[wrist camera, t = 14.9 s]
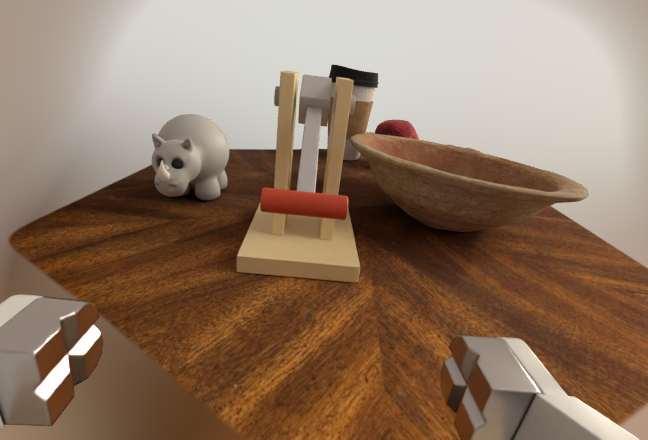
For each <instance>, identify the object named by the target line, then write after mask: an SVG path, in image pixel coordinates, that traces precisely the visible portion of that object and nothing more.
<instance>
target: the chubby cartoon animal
mask: <svg viewBox="0 0 648 440" xmlns="http://www.w3.org/2000/svg"><path fill="white" fill-rule="evenodd" d="M152 138H153V142H154V146H155V151H154V153H153V156H152V166H153V168H154V170H155V172H156V177H155V186H156V188H157V190H158V191H159V192H160V193H161V194H163V195H165V196H168V197H177V196H184V195H187V194H188V193H189V191H190V185H192V184H194V185H193V188H194V189H195V194H196V196H197V198H199V199H201V200H213V199H216V198H218V197H219V196H220V190H222V189H224V188H226V186H227V176H226V173H225V170H224V168H225V167H226V165H227V162H228V158H229V146H228V141H227V138H226V137H225V134H224V133H223V131H222V130H221V129H220V127H219V126H217V124H215V123H214V122H213V121H211V120H210V119H208V118H206V117H203V116H200V115H194V114H186V115H180V116H177V117H175V118H173V119H171V120H170V121H168V122H167V123H166V124H165V125H164V126H163V127H162V129H161V130H160V132H159V134H158V135H156V134H153V135H152Z"/></svg>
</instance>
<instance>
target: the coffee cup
mask: <svg viewBox="0 0 648 440" xmlns="http://www.w3.org/2000/svg"><path fill="white" fill-rule="evenodd" d="M336 77H341V78H348V79H351V80H353V81H354V82H353V89H352V95H354V96H355V97H356V101H355V109H354V113H353V115H350V114H349V118H348V125H347V133H346V140H345V147H344V154H343V160H357V159H359V156H360V152H358V151H357V150H356V149H355V148H354V147H353V145H352V143H351V142H350V138H351V137H352V136H354V135H356V134H363V133H365V132H366V128H367V124H368V119H369V116H370V112H371V108H372V104H373V101H372V99H373V95H374V91H375V88H377V85H378V74H377V73H371V72H364V71H358V70H354V69H350V68H346V67H343V66H338V65H332V66H331V71H330V76H329V78H332V85H331V101H330V108H329V115H328V144H329V135H330V127H331V118H332V110H333V101H334V93H335V85H336ZM327 152H328V148H327Z"/></svg>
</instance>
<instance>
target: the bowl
mask: <svg viewBox="0 0 648 440" xmlns="http://www.w3.org/2000/svg"><path fill="white" fill-rule="evenodd" d="M350 142H351V143H352V145H353V147H354V148H355V149H356V150H357V151H358V152H360V153H361V154H362V155H364V156H365V157H366V159H367V160H368V163H369V166H370V168H371V171H372V173H373V176H374V178H375V180H376V182H377V184H378V185H379V187H380V188H381V189H382V190H383V192H384V193H385V194H386V195H388V196H389V197H390V198H391V199H392V200H393V201H394V202H395V203H396V204H397V205H398V206H399V207H400V208H401V209H403V210H404V211H405V212H406V213H407V214H408V215H409V216H411V217H412V218H414V219H416V220H418V221H419V222H421V223H423V224H424V225H426V226H429V227H432V228H436V229H443V230H449V231H456V232H472V231H477V230H482V229H488V228H493V227H499V226H504V225H510V224H515V223H519V222H522V221H525V220H527V219H530V218H532V217H534V216H535V215H537V214H538V213H539V212H540V211H542V210H543V209H545V208H547V207H549V206H551V205H553V204H554V203H562V202H576V201H581V200H583V199H585V198H586V197H587V196H588V195H589V193H588V191H587V189H586V188H584V187H583V186H582V185H581V184H579V183H577V182H575V181H573V180H570V179H569V178H567V177H564V176H562V175H559V174H556V173H553V172H550V171H545V170H541V169H538V168H535V167H531V166H528V165H524V164H521V163H517V162H514V161H510V160H507V159H503V158H499V157H495V156H492V155H488V154H484V153H481V152H480V151H477V150H474V149H470V148H461V147H456V146H453V145H443V144H438V143H433V142H428V141H423V140H417V139H411V138H405V137H398V136H391V135H381V134H375V133H363V134H356V135H354V136H352V137H351V138H350Z"/></svg>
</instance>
